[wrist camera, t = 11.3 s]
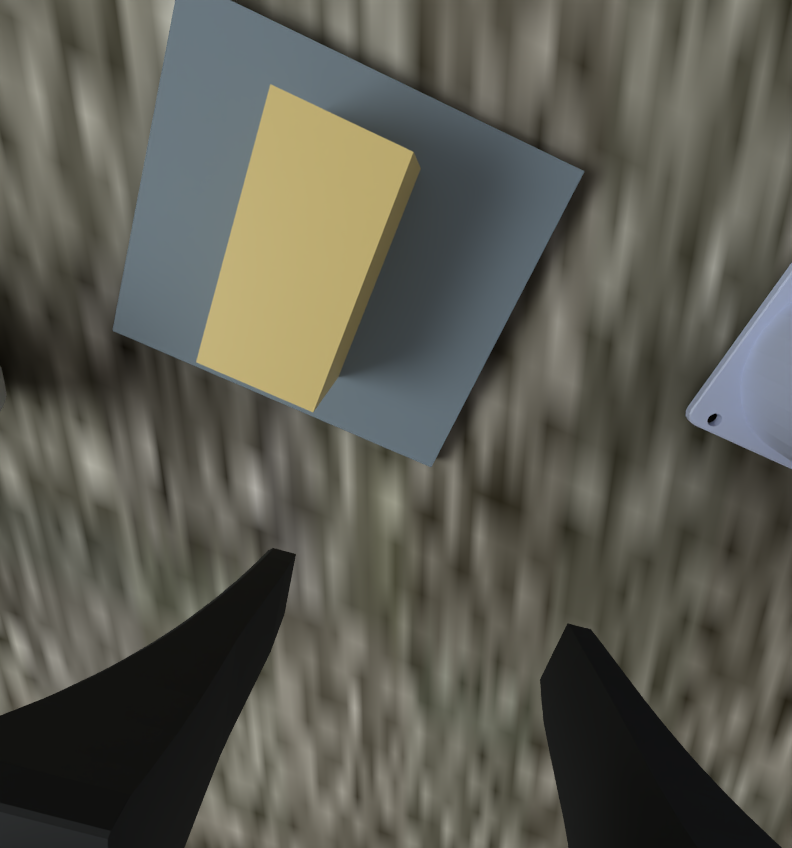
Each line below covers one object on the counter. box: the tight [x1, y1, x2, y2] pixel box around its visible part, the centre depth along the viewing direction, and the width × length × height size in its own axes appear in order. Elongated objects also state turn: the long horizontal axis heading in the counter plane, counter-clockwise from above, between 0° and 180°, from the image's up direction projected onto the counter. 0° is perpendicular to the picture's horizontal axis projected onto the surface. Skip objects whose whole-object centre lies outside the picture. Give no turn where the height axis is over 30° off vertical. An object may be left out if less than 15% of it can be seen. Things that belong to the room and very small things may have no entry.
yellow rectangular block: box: [196, 84, 421, 412], centre depth 16 cm, size 8×4×4 cm, turn 157°
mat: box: [112, 0, 584, 467], centre depth 18 cm, size 14×12×1 cm
